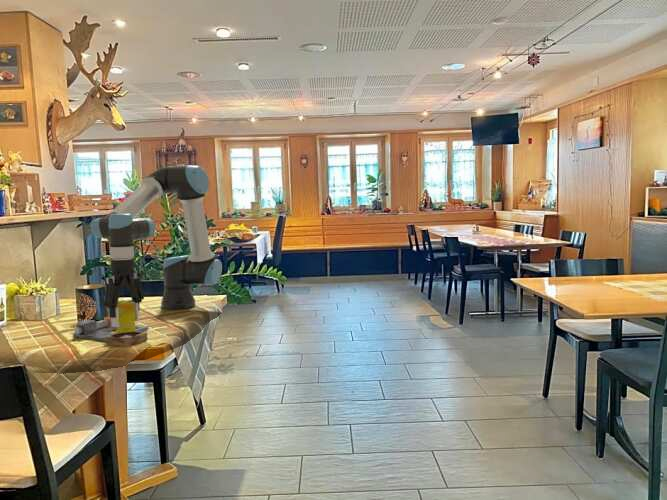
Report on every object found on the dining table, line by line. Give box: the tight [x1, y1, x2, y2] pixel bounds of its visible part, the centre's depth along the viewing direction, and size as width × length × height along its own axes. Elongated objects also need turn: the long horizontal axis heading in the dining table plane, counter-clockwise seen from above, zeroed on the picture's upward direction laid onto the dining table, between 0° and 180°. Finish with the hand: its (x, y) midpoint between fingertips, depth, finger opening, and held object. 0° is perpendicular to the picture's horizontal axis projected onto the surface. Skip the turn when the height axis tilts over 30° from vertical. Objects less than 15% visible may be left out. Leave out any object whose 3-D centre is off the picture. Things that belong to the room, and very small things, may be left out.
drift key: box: [74, 317, 112, 334], centre depth 184 cm, size 14×3×3 cm, turn 156°
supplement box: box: [116, 299, 136, 336], centre depth 172 cm, size 6×6×11 cm
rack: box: [104, 331, 148, 348], centre depth 173 cm, size 10×10×3 cm
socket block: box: [72, 319, 149, 342], centre depth 184 cm, size 18×18×5 cm
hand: (125, 323), depth 173 cm, fingers closed on supplement box, 8 cm apart
